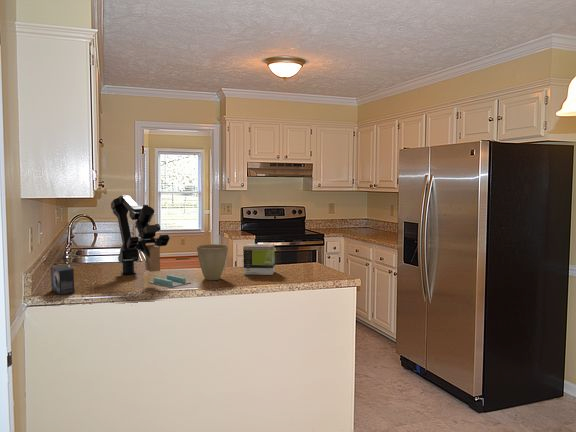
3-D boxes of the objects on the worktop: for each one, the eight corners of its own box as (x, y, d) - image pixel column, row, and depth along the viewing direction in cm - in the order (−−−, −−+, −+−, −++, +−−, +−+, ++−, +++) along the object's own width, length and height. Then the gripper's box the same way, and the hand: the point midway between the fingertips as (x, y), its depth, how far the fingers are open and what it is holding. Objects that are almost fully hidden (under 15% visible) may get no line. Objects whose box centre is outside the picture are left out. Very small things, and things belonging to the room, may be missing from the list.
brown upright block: (145, 269, 223) (145, 245, 222) (153, 268, 225) (153, 244, 224) (151, 271, 217) (151, 247, 216) (160, 270, 220) (159, 246, 219)
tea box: (274, 271, 255) (275, 243, 253) (272, 275, 245) (272, 246, 243) (246, 270, 256) (246, 243, 255) (243, 274, 246) (243, 245, 245)
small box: (50, 290, 210) (49, 266, 209) (65, 288, 215) (65, 264, 214) (59, 295, 202) (58, 270, 202) (75, 292, 207) (74, 268, 206)
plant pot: (233, 279, 236) (233, 246, 234) (207, 283, 226) (207, 249, 224) (217, 274, 247) (217, 243, 245) (191, 278, 237) (190, 245, 236)
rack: (148, 282, 227) (148, 277, 226) (169, 278, 236) (169, 273, 236) (170, 287, 217) (170, 282, 217) (190, 283, 226) (190, 278, 226)
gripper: (128, 219, 217) (138, 247, 209) (167, 217, 228) (178, 243, 220) (122, 234, 223) (131, 262, 216) (161, 232, 235) (171, 258, 227)
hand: (153, 256), depth 220 cm, fingers closed on brown upright block, 4 cm apart
